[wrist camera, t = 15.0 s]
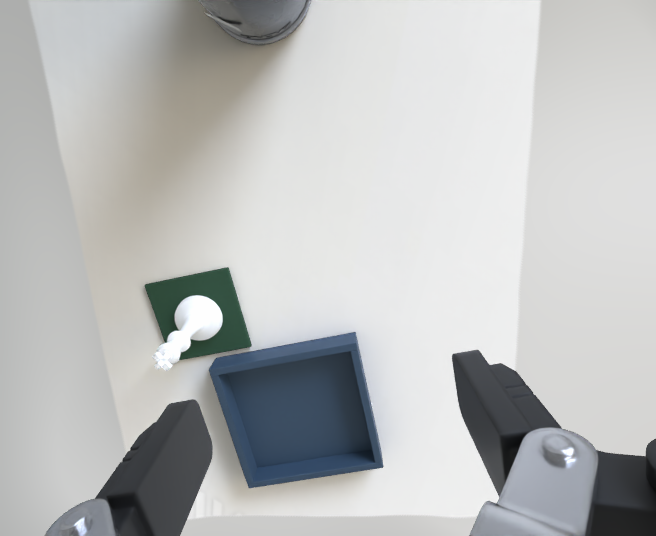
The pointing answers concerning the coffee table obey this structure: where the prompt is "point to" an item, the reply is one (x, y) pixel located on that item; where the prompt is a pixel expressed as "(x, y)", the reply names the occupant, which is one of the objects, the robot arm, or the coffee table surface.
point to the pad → (213, 287)
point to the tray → (298, 410)
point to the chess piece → (189, 328)
